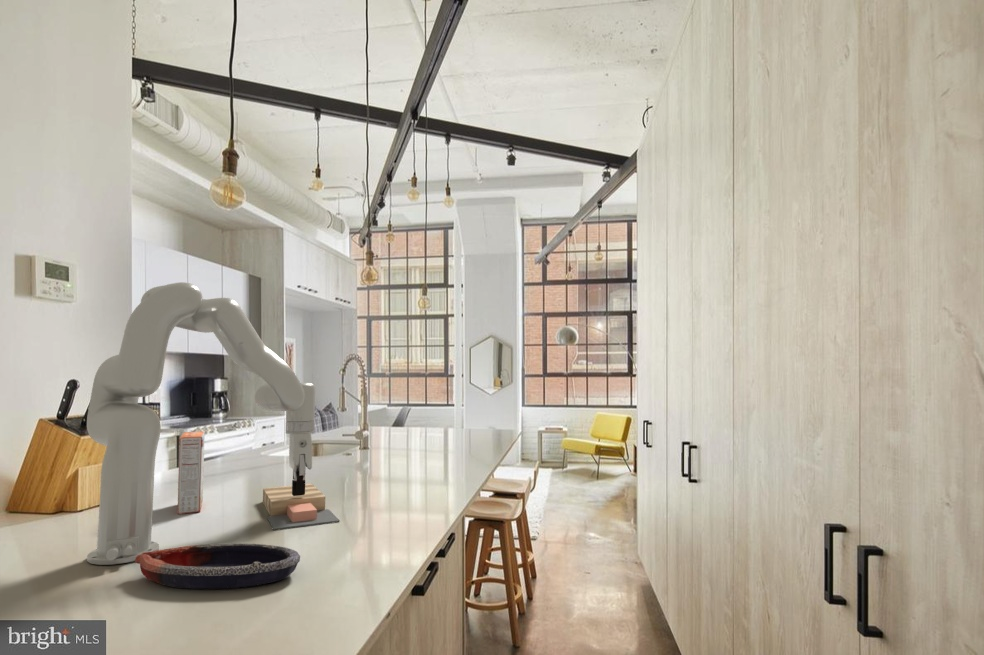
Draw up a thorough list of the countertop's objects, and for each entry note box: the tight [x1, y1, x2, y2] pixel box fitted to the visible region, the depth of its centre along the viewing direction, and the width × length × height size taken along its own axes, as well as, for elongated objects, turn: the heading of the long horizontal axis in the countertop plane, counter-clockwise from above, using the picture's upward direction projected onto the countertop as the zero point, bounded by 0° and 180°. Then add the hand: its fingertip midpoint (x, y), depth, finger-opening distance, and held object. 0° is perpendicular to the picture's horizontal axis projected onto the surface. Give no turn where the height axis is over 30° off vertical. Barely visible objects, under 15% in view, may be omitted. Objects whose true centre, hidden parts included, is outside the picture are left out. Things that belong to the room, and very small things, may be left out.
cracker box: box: [177, 430, 205, 515], centre depth 158 cm, size 14×6×21 cm, turn 25°
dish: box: [134, 542, 301, 590], centre depth 104 cm, size 16×31×5 cm, turn 85°
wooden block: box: [262, 483, 326, 516], centre depth 159 cm, size 20×14×4 cm
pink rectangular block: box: [287, 503, 317, 522], centre depth 146 cm, size 9×6×2 cm, turn 29°
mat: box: [266, 509, 341, 531], centre depth 144 cm, size 13×16×1 cm
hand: (298, 494), depth 152 cm, fingers closed
